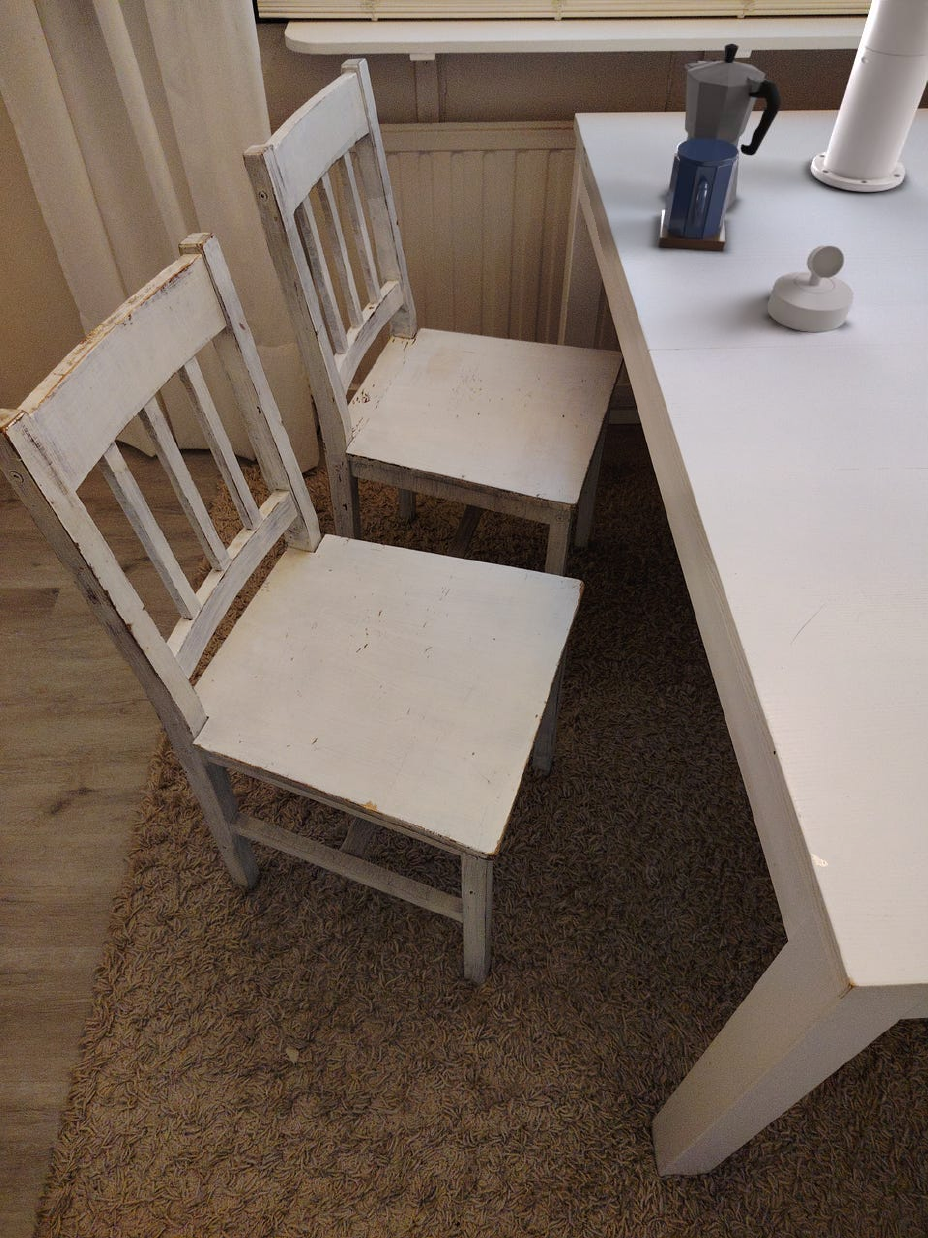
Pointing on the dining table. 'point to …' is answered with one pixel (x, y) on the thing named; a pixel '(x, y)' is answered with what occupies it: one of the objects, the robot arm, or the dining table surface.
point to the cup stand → (691, 240)
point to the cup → (700, 187)
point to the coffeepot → (728, 103)
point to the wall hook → (813, 294)
